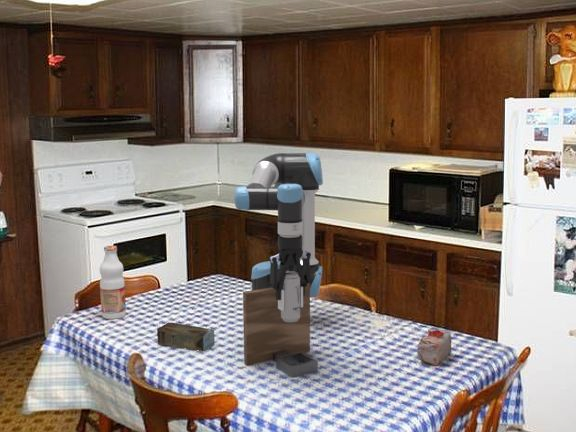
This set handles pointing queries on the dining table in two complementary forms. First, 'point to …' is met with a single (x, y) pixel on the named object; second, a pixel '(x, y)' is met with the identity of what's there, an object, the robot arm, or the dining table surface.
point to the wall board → (272, 326)
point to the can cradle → (295, 363)
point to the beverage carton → (185, 336)
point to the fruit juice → (112, 285)
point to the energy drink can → (291, 297)
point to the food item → (434, 347)
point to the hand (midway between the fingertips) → (290, 307)
